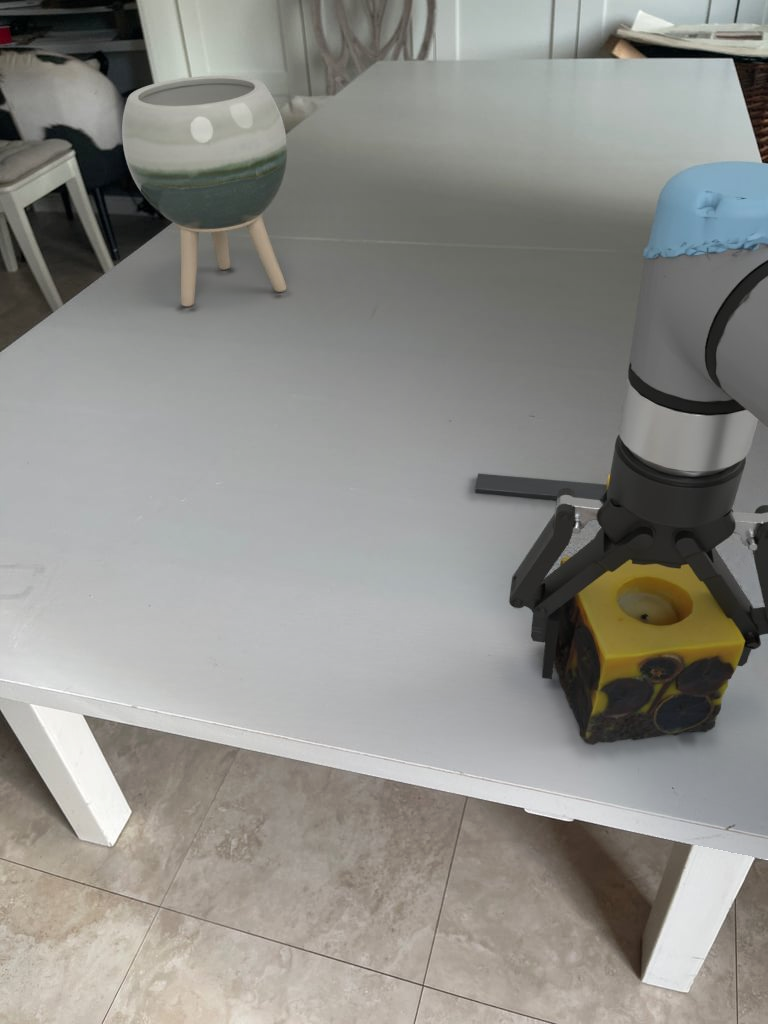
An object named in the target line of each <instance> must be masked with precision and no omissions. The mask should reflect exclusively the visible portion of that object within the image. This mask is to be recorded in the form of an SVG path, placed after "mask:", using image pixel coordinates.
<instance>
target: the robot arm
mask: <svg viewBox="0 0 768 1024" xmlns="http://www.w3.org/2000/svg"><path fill="white" fill-rule="evenodd" d="M655 207H656V208H655V213H654V218H653V222H652V226H651V231H650V236H649V238H648V244H647V246H646V247H645V248H644V249H643V254H642V257H643V265H642V271H641V280H640V285H639V292H638V300H637V306H636V313H635V320H634V326H633V332H632V341H631V346H630V353H629V364H628V371H627V375H626V376H627V377H626V381H625V387H624V392H623V398H622V404H621V410H620V416H619V420H618V427H617V431H618V435H617V437H616V439H615V444H614V450H613V455H612V461H611V468H610V474H609V475H610V479H609V485H608V489H607V490H606V492H605V493H604V494H603V495H602V496H601V497H600V499H599V500H593V499H584V498H576V493H575V492H574V490H572V489H570V488H563V489H561V490H560V491H559V492H558V494H557V500H555V501H556V502H555V507H554V508H555V509H554V513H553V514H552V516H551V517H550V519H549V521H548V522H547V523H546V525H545V527H544V529H542V531H541V533H540V534H539V536H538V537H537V539H536V540H535V542H534V543H533V545H532V547H531V548H530V550H529V551H528V552H527V554H526V555H525V557H524V558H523V560H522V561H521V563H520V565H519V566H518V568H517V569H516V570H515V572H514V574H513V575H512V577H511V582H510V592H509V599H508V603H509V606H511V607H513V608H514V609H522V608H524V607H525V608H528V609H529V610H530V611H531V612H532V620H531V631H530V638H531V639H532V641H533V642H537V643H538V642H539V643H544V648H543V656H542V657H543V658H542V659H543V660H542V671H541V672H542V673H541V679H548V680H552V679H553V675H554V674H553V673H554V668H555V662H554V660H555V652H556V645H557V637H558V630H559V623H560V607H561V606H562V605H563V604H565V603H566V602H567V601H569V600H570V599H571V598H573V597H574V596H575V595H576V594H578V593H579V592H580V591H582V590H583V589H584V588H586V587H587V586H588V585H590V584H591V583H592V582H594V581H595V580H596V579H598V578H599V577H600V576H602V575H603V574H604V573H605V572H607V571H610V572H613V571H615V570H616V569H618V568H619V567H620V566H622V565H623V564H624V563H626V562H627V561H628V560H632V564H640V565H649V564H659V565H662V566H665V567H669V568H679V569H681V565H686V564H689V566H690V567H691V569H692V570H693V572H694V573H695V575H696V576H697V578H698V579H699V580H700V581H703V582H704V584H705V585H706V587H707V588H708V590H709V591H710V593H711V594H712V596H713V597H714V599H715V600H716V602H717V603H718V604H719V606H720V607H721V609H722V610H723V612H724V613H725V615H726V616H727V618H730V619H732V620H733V622H734V623H735V625H736V626H737V627H738V629H739V630H740V632H741V634H742V636H743V638H744V640H745V644H744V648H743V652H742V654H741V657H740V659H739V662H738V665H737V667H743V666H744V665H745V664H747V662H748V661H749V657H750V654H751V652H752V650H756V649H758V648H760V647H761V645H762V642H761V637H760V636H763V635H768V504H763V505H760V506H758V507H757V508H756V509H755V511H754V512H742V511H734V510H733V507H734V504H735V501H736V498H737V494H738V491H739V487H740V484H741V480H742V477H743V473H744V470H745V467H746V463H747V457H746V456H747V455H748V454H749V452H750V451H751V449H752V448H751V447H752V444H753V440H754V437H755V433H756V430H757V425H758V422H761V423H762V424H763V425H765V426H766V427H767V428H768V163H765V162H757V161H746V160H745V161H743V160H730V161H729V160H728V161H716V162H715V161H714V162H709V163H701V164H697V165H693V166H690V167H688V168H686V169H685V168H684V169H683V170H681V171H679V172H677V173H676V174H674V175H673V176H671V177H670V178H669V179H668V180H667V181H666V183H665V184H664V185H663V187H662V188H661V190H660V192H659V194H658V199H657V203H656V206H655ZM592 521H597V523H598V525H599V526H600V527H601V528H599V529H598V531H597V532H596V534H595V536H594V537H593V539H592V540H590V541H589V542H588V543H587V544H585V545H583V546H582V547H581V548H580V549H579V550H578V551H577V552H575V553H574V554H573V555H571V556H572V557H571V558H569V559H568V560H567V561H566V562H564V563H563V564H562V565H561V566H560V565H559V566H558V567H557V568H555V570H553V571H552V572H551V573H550V571H551V570H552V568H553V567H554V566H555V564H556V563H557V561H558V560H559V559H560V558H561V556H562V554H563V553H564V551H565V550H566V549H567V547H568V545H569V544H570V543H571V539H572V537H573V536H572V535H573V534H575V535H577V534H580V533H581V531H582V530H583V529H584V528H585V526H586V525H587V524H588V523H589V522H592ZM733 534H737V535H739V536H740V539H741V540H740V541H741V543H742V544H743V545H744V546H745V547H747V549H748V550H749V551H752V556H753V560H754V565H755V569H756V574H757V578H758V582H759V588H760V591H761V592H760V593H761V597H762V601H763V605H764V606H761V607H754V605H753V604H752V603H751V601H750V599H749V598H748V596H747V595H746V593H745V592H744V590H743V589H742V587H741V586H740V584H739V583H738V580H737V579H736V578H735V576H734V575H733V573H732V572H731V570H730V569H729V567H728V566H727V564H726V562H725V561H724V559H723V558H722V556H721V555H720V553H719V552H718V550H717V548H716V547H717V546H719V545H720V544H722V543H724V542H725V541H726V540H727V539H729V538H730V537H731V536H733ZM549 573H550V574H549Z"/></svg>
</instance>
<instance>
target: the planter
mask: <svg viewBox="0 0 768 1024" xmlns="http://www.w3.org/2000/svg"><path fill="white" fill-rule="evenodd" d="M121 137H122V138H121V140H122V146H123V148H122V149H123V153H124V157H125V162H126V164H127V167H128V170H129V173H130V175H131V177H132V180H133V181H134V184H135V185H136V187H137V188H138V190H139V192H140V193H141V195H142V196H143V197H144V199H145V200H146V201H147V202H148V203H149V205H151V207H152V208H153V209H154V210H155V211H156V212H158V213H159V214H160V215H161V216H163V217H164V218H166V219H167V220H168V221H170V222H172V223H173V224H174V225H175V226H176V227H177V228H180V229H179V230H180V304H181V305H182V306H183V307H186V308H188V307H191V306H194V303H195V299H196V298H195V297H196V296H195V295H196V282H197V271H198V258H199V257H198V256H199V241H200V239H199V238H200V233H211V237H212V242H213V248H214V253H215V257H216V261H217V266H218V268H219V269H220V270H225V271H226V270H228V269H230V268H231V258H230V248H229V241H228V239H229V238H228V232H227V231H232V230H235V229H241V228H244V227H246V230H247V231H248V234H249V236H250V238H251V241H252V243H253V246H254V248H255V250H256V253H257V254H258V257H259V260H260V262H261V263H262V265H263V268H264V270H265V272H266V274H267V276H268V278H269V281H270V283H271V285H272V287H273V290H274V291H275V292H278V293H283V292H285V291H286V290H287V284H286V281H285V277H284V275H283V272H282V270H281V267H280V265H279V262H278V259H277V257H276V254H275V252H274V251H275V250H274V249H273V246H272V242H271V240H270V238H269V234H268V232H267V229H266V227H265V223H264V219H263V216H264V214H265V211H267V209H268V208H269V207H270V205H271V204H272V203H273V201H274V200H275V198H276V196H277V194H278V193H279V191H280V188H281V186H282V183H283V180H284V177H285V173H286V168H287V163H288V162H287V159H288V141H287V134H286V128H285V123H284V121H283V117H282V114H281V111H280V109H279V107H278V104H277V101H276V100H275V98H274V96H273V95H272V93H271V92H270V90H269V88H268V87H267V85H266V84H265V83H264V82H263V81H261V80H259V79H256V78H252V77H248V76H241V75H203V76H190V77H183V78H176V79H169V80H164V81H160V82H156V83H152V84H149V85H146V86H143V87H141V88H138V89H136V90H133V92H131V93H130V94H129V95H128V97H127V99H126V101H125V105H124V109H123V115H122V124H121Z"/></svg>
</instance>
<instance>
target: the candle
mask: <svg viewBox="0 0 768 1024" xmlns="http://www.w3.org/2000/svg"><path fill="white" fill-rule="evenodd" d="M572 556H573V555H569V556H564V557H562V558H561V560H560V563H559V566H561V565H562V564H563V563H564V562H566V561H567V560H568V559H569V558H571V557H572ZM744 644H745V640H744V638H743V636H742V634H741V632H740V630H739V629H738V627H737V626H736V625H735V623H734V622H733V620H732V619H730V618H727V616H726V615H725V613H724V612H723V610H722V609H721V607H720V606H719V604H718V603H717V602H716V600H715V599H714V597H713V596H712V594H711V593H710V591H709V590H708V588H707V587H706V585H705V584H704V582H703V581H700V580H699V579H698V578H697V576H696V575H695V573H694V572H693V570H692V569H691V567H690V566H689V564H686V565H681V569H679V568H669V567H665V566H662V565H659V564H649V565H640V564H632V560H628V561H627V562H626V563H624V564H623V565H622V566H620V567H619V568H618V569H616V570H615V571H613V572H610V571H607V572H605V573H604V574H603V575H602V576H600V577H599V578H598V579H596V580H595V581H594V582H592V583H591V584H590V585H588V586H587V587H586V588H584V589H583V590H582V591H580V592H579V593H578V594H576V595H575V596H574V597H573V598H571V599H570V600H569V601H567V602H566V603H565V604H563V605H562V606H561V607H560V623H559V630H558V637H557V645H556V652H555V660H554V670H555V671H556V673H557V676H558V678H559V682H560V685H561V688H562V690H563V692H564V693H565V695H566V696H565V698H566V700H567V702H568V705H569V708H570V709H571V710H572V713H573V715H574V717H575V720H576V722H577V724H578V727H579V737H581V738H582V740H583V741H584V743H585V744H587V745H592V746H593V745H596V744H597V743H614V742H617V741H625V740H632V741H639V740H645V739H649V738H650V739H651V738H656V737H664V736H679V735H681V734H685V733H698V732H699V733H707V732H709V731H711V730H713V728H715V726H716V721H717V717H718V715H720V712H721V710H722V700H723V696H724V694H725V692H726V691H727V688H728V687H729V686H728V685H729V680H730V679H732V676H733V675H734V674H735V672H736V669H737V667H738V666H737V665H738V662H739V659H740V657H741V654H742V652H743V648H744Z"/></svg>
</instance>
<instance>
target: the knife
mask: <svg viewBox="0 0 768 1024" xmlns="http://www.w3.org/2000/svg"><path fill="white" fill-rule="evenodd" d="M609 479H610V474H607V479H606V484H604V483H593V482H581V481H571V480H569V481H568V480H557V479H545V478H533V477H522V476H511V475H500V474H488V473H477V478H476V483H475V488H474V490H475V491H474V493H476V494H486V495H497V496H508V497H517V498H518V497H519V498H530V499H541V500H552V501H557V494H558V492H559V491H560V490H561V489H563V488H570V489H572V490H574V492H575V493H576V498H584V499H593V500H599V499H600V497H601V496H602V495H603V494H604V493H605V492H606V490H607V489H608V485H609Z"/></svg>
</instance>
